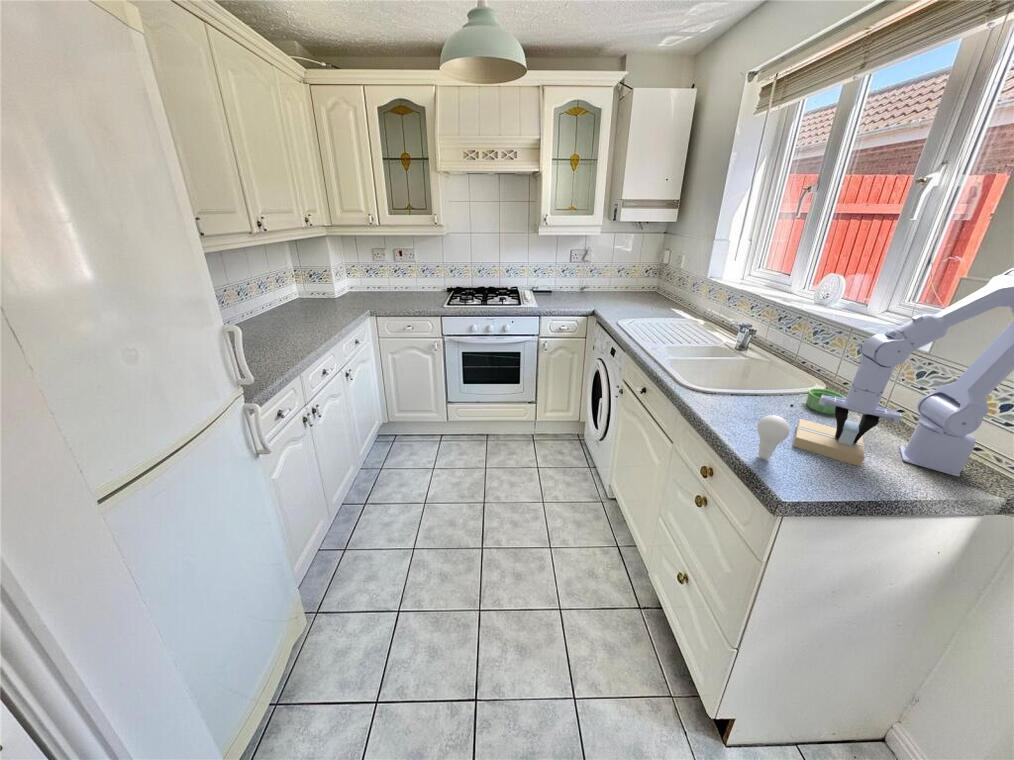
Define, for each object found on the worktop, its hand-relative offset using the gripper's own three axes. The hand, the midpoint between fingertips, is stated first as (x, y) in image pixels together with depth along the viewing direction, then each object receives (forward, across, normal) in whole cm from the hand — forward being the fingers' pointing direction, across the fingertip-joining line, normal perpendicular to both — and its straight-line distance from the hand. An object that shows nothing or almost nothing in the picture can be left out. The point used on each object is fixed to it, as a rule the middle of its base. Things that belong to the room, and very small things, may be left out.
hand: (845, 439), depth 98 cm
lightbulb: (+3, +14, +17) cm, 23 cm away
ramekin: (+3, +4, -25) cm, 26 cm away
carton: (+3, +3, 0) cm, 4 cm away
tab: (0, 0, 0) cm, 0 cm away
